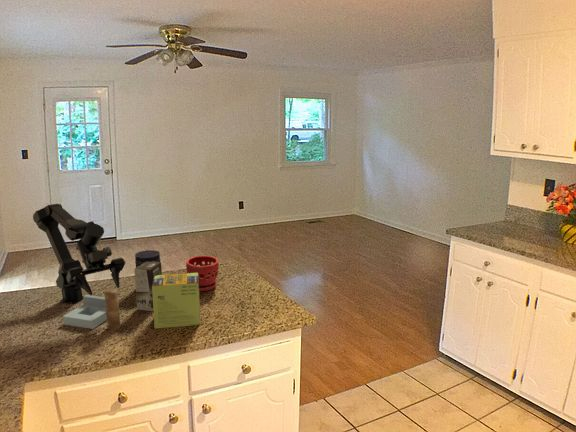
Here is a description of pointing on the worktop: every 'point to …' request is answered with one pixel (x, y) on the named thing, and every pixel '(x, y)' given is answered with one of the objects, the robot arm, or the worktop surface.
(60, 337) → the worktop surface
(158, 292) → the protein box
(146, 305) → the coffee box
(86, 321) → the socket block
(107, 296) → the peg
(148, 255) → the storage jar
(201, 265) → the plant pot
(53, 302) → the worktop surface
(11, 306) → the worktop surface
